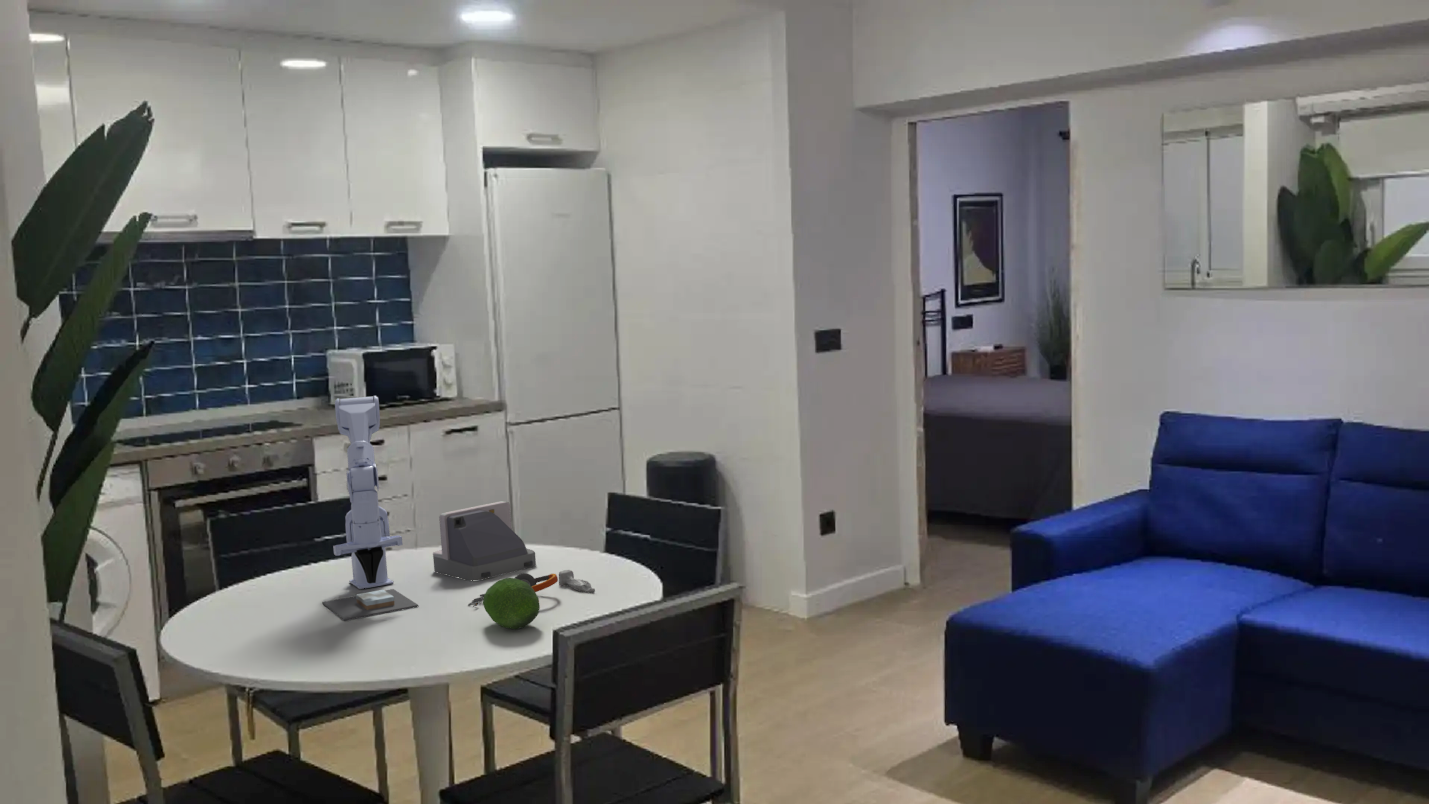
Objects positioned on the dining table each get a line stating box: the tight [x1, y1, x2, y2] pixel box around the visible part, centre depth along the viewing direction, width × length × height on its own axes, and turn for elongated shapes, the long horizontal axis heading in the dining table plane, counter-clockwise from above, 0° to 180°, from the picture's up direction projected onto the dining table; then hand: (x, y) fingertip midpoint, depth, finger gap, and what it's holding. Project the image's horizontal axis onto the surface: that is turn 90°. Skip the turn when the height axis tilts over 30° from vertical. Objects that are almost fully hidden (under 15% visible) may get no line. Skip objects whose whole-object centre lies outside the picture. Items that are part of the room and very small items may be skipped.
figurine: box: [558, 569, 596, 594], centre depth 276 cm, size 4×12×4 cm, turn 38°
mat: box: [322, 588, 419, 622], centre depth 272 cm, size 18×16×1 cm
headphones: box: [467, 572, 559, 608], centre depth 269 cm, size 17×5×20 cm
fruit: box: [482, 577, 541, 630], centre depth 249 cm, size 15×10×10 cm, turn 33°
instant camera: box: [432, 500, 537, 582], centre depth 300 cm, size 21×21×15 cm
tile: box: [355, 589, 395, 610], centre depth 271 cm, size 8×2×6 cm
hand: (371, 582), depth 270 cm, fingers closed
